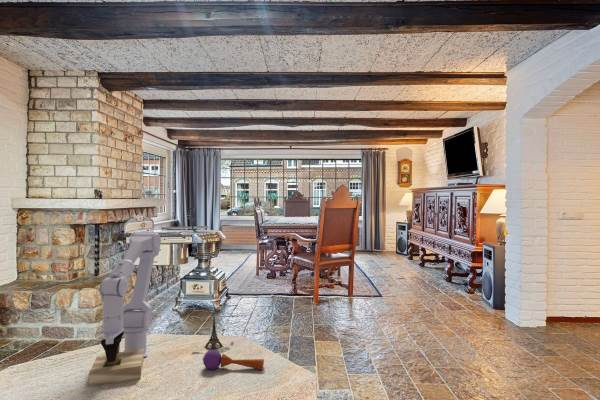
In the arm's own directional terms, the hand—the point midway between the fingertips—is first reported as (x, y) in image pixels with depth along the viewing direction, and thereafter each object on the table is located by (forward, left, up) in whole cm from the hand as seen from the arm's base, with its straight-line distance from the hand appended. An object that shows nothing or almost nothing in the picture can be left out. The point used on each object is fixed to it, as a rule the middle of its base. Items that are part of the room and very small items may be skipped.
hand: (112, 358), depth 111 cm
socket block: (-2, +2, -5) cm, 6 cm away
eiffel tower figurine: (-12, +33, -6) cm, 35 cm away
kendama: (+8, +37, -6) cm, 38 cm away
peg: (0, 0, -2) cm, 2 cm away
